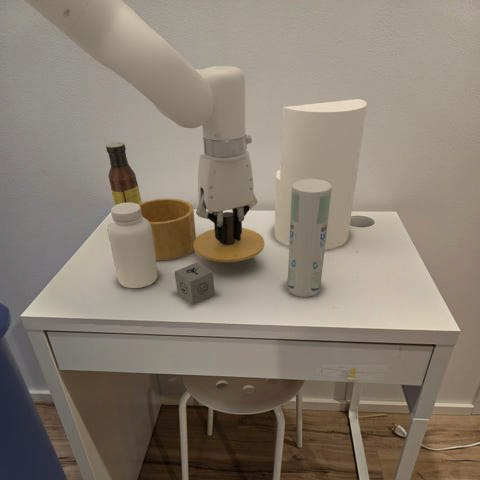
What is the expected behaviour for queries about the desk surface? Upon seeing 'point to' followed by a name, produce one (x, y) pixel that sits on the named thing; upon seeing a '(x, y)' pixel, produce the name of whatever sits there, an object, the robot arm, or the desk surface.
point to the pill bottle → (132, 246)
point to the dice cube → (194, 283)
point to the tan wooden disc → (229, 243)
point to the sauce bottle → (122, 176)
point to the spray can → (307, 235)
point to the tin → (170, 227)
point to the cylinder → (320, 161)
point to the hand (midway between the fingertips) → (228, 239)
